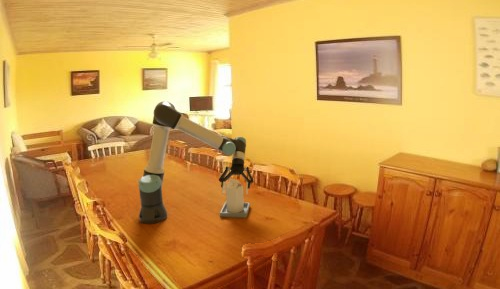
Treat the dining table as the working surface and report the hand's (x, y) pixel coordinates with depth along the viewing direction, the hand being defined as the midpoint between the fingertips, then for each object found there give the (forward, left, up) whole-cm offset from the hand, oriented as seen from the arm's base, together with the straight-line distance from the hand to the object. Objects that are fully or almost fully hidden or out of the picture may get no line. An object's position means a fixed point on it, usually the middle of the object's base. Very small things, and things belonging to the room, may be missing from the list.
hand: (234, 193), depth 171 cm
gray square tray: (0, +1, -12) cm, 12 cm away
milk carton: (0, +1, -11) cm, 12 cm away
